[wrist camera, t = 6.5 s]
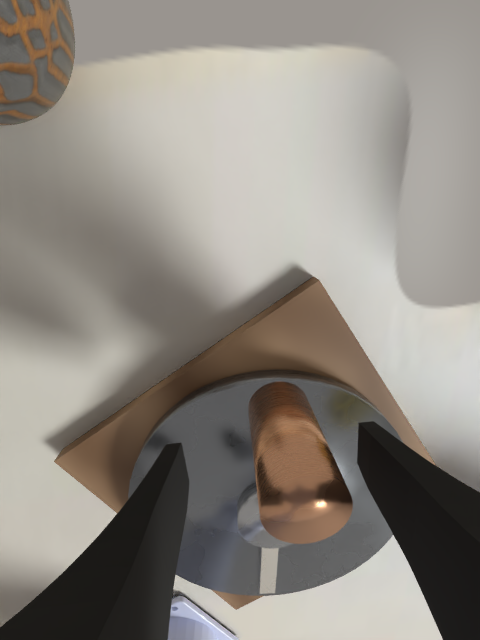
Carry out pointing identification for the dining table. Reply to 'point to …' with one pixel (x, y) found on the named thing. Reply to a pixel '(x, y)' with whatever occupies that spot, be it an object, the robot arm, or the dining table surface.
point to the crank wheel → (271, 482)
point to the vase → (34, 57)
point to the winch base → (227, 360)
